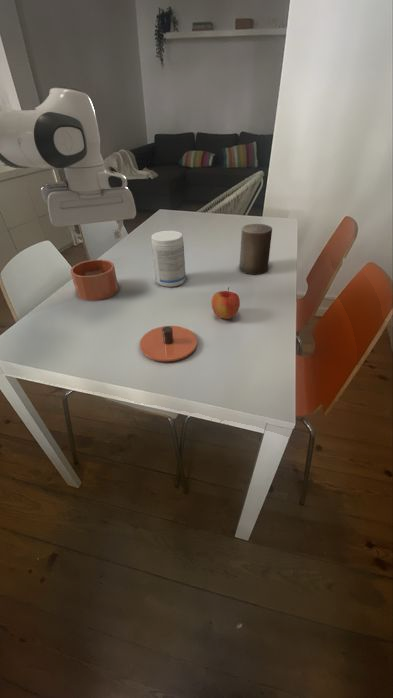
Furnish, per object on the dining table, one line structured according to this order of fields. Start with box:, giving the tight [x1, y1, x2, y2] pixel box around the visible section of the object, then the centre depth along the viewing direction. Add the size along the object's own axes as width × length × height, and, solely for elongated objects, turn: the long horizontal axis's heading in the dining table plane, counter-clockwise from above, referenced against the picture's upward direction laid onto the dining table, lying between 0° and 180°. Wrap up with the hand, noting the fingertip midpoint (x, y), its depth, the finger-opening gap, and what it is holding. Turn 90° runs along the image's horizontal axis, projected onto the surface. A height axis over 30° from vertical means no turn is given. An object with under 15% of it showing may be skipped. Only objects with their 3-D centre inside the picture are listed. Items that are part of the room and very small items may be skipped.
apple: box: [210, 286, 241, 320], centre depth 82 cm, size 7×7×8 cm
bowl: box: [70, 259, 119, 301], centre depth 96 cm, size 12×12×8 cm
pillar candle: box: [239, 223, 273, 275], centre depth 104 cm, size 10×10×15 cm
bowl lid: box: [139, 325, 198, 362], centre depth 74 cm, size 13×13×5 cm
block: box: [85, 270, 102, 276], centre depth 96 cm, size 5×5×5 cm
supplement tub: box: [150, 230, 186, 288], centre depth 98 cm, size 10×10×15 cm
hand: (99, 240), depth 81 cm, fingers open, 8 cm apart
